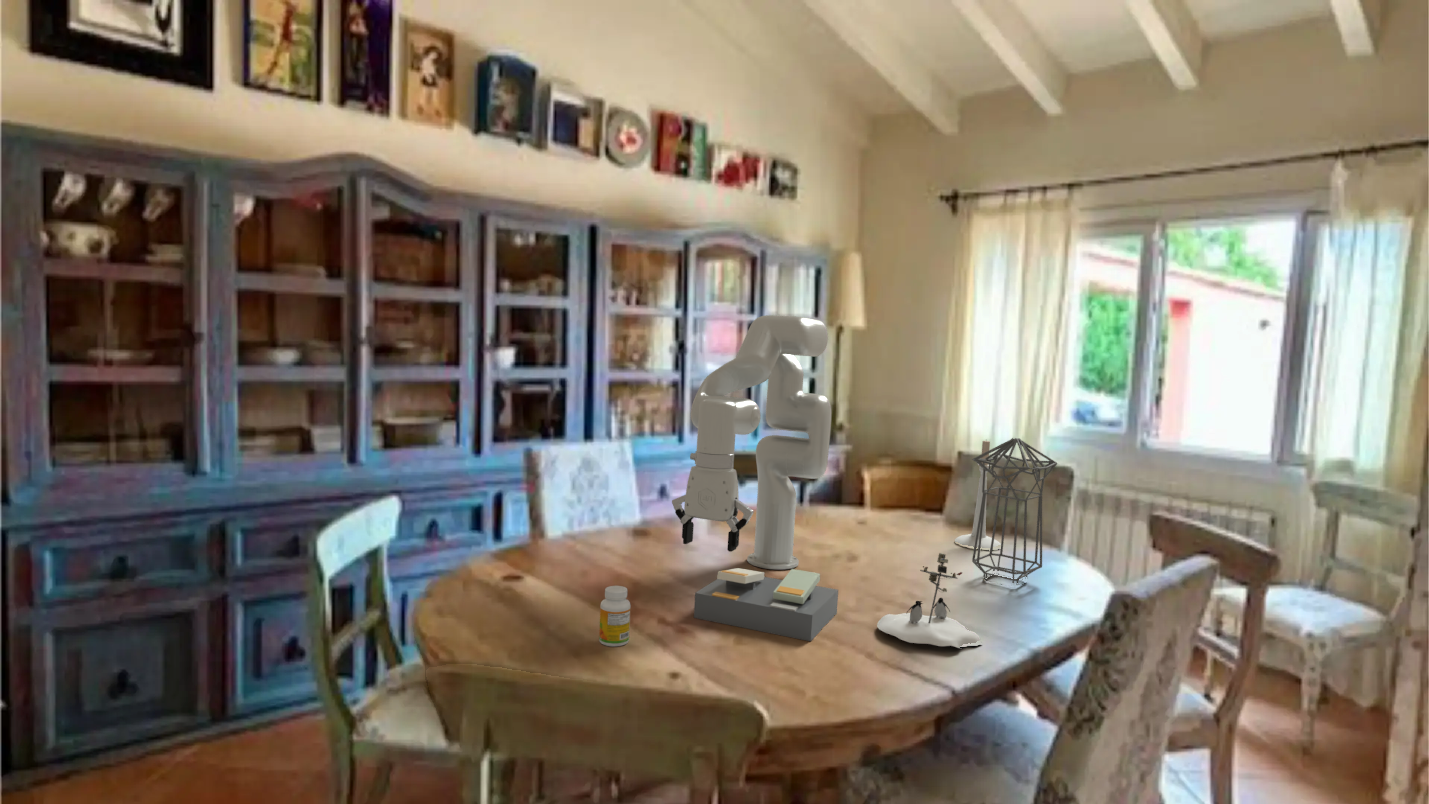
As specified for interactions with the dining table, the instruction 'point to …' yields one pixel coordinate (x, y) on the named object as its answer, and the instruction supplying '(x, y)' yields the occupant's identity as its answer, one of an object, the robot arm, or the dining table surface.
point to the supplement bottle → (614, 617)
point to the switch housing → (765, 608)
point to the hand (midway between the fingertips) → (709, 546)
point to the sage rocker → (796, 586)
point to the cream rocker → (740, 575)
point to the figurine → (929, 620)
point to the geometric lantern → (1052, 464)
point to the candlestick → (971, 538)
